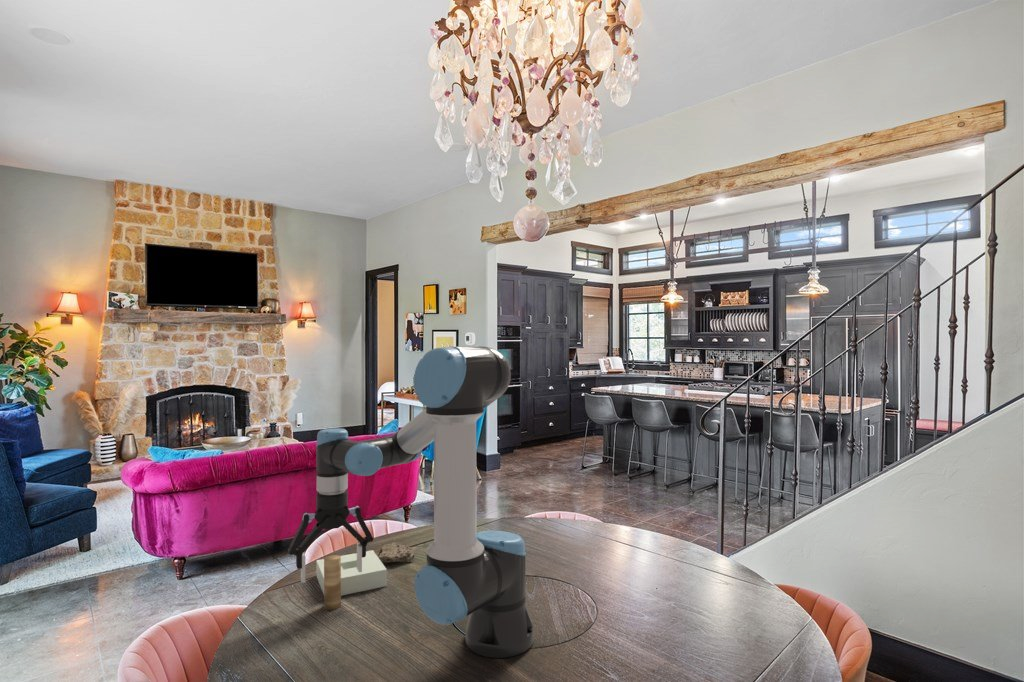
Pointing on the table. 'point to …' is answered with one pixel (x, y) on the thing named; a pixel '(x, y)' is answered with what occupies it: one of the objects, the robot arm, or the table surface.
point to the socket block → (357, 573)
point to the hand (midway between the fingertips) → (331, 575)
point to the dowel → (332, 582)
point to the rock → (396, 553)
